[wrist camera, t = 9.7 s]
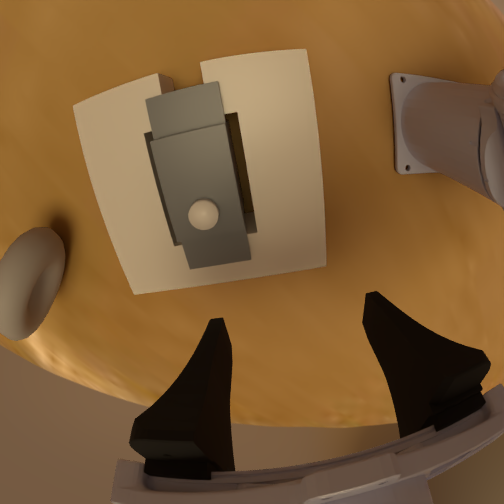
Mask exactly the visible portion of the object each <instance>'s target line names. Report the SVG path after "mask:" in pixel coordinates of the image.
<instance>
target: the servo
mask: <svg viewBox="0 0 504 504" xmlns="http://www.w3.org/2000/svg"><path fill="white" fill-rule="evenodd" d="M145 102H146V107H147V111H148V116H149V121H150V125H151V130H152V134H153V139H154V140H153V141H150V145H151V149H152V153H153V157H154V161H155V165H156V169H157V173H158V177H159V180H160V184H161V188H162V191H163V195H164V199H165V202H166V206H167V209H168V213H169V216H170V220H171V223H172V226H173V230H174V233H175V236H176V240H177V242H181V243H182V246H183V249H184V252H185V256H186V259H187V262H188V265H189V268H190V270H191V269H197V268H203V267H210V266H216V265H222V264H228V263H235V262H241V261H247V260H251V252H250V247H249V242H248V236H247V231H246V226H245V219H244V201H243V195H242V190H241V185H240V179H239V174H238V168H237V163H236V158H235V152H234V147H233V142H232V136H231V131H230V125H229V120H225V114H224V109H223V104H222V98H221V93H220V88H219V82H218V81H215V82H210V83H205V84H201V85H196V86H192V87H188V88H184V89H180V90H176V91H172V92H169V93H165V94H162V95H158V96H155V97H152V98H148V99H145Z"/></svg>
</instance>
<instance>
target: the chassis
mask: <svg viewBox="0 0 504 504" xmlns="http://www.w3.org/2000/svg"><path fill="white" fill-rule="evenodd" d="M200 65H201V71H202V76H203V82H204V84H205V83H210V82H215V81H218V82H219V88H220V93H221V98H222V104H223V109H224V114H228V113H234V112H237V113H238V119H239V125H240V130H241V136H242V142H243V148H244V154H245V160H246V165H247V171H248V177H249V183H250V189H251V195H252V201H253V207H254V212H249V213H244V219H245V226H246V231H247V236H248V242H249V247H250V252H251V260H247V261H241V262H235V263H228V264H222V265H216V266H210V267H203V268H197V269H191V270H190V268H189V265H188V262H187V259H186V256H185V252H184V249H183V246H182V243H181V242H177V240H176V236H175V233H174V230H173V226H172V223H171V220H170V216H169V213H168V209H167V206H166V202H165V199H164V195H163V191H162V188H161V184H160V180H159V177H158V173H157V169H156V165H155V161H154V157H153V153H152V149H151V145H150V141H153V140H154V139H153V134H152V130H151V125H150V121H149V116H148V111H147V107H146V102H145V99H148V98H152V97H155V96H158V95H162V94H165V93H169V92H172V91H174V86H173V80H172V78H169V77H167V76H164V75H162V74H159V73H156V74H153V75H150V76H147V77H143V78H140V79H137V80H134V81H132V82H129V83H126V84H123V85H120V86H118V87H115V88H113V89H110V90H108V91H105V92H103V93H100V94H98V95H95V96H93V97H91V98H89V99H86V100H84V101H82V102H80V103H78V104H76V105H73V109H74V114H75V119H76V124H77V129H78V133H79V137H80V142H81V146H82V150H83V154H84V157H85V161H86V165H87V168H88V172H89V175H90V179H91V182H92V186H93V189H94V192H95V195H96V198H97V201H98V204H99V207H100V210H101V213H102V216H103V219H104V222H105V225H106V227H107V230H108V233H109V235H110V238H111V241H112V243H113V246H114V248H115V251H116V253H117V256H118V258H119V261H120V263H121V266H122V268H123V270H124V273H125V275H126V277H127V280H128V282H129V284H130V286H131V289H132V291H133V293H134V295H135V294H143V293H151V292H158V291H166V290H174V289H181V288H188V287H196V286H203V285H210V284H217V283H224V282H231V281H237V280H244V279H250V278H257V277H263V276H270V275H276V274H282V273H289V272H295V271H301V270H307V269H313V268H319V267H324V266H326V230H325V209H324V193H323V179H322V166H321V155H320V145H319V135H318V126H317V118H316V110H315V102H314V95H313V88H312V81H311V75H310V69H309V63H308V57H307V51H306V49H293V50H278V51H267V52H258V53H250V54H243V55H236V56H230V57H224V58H218V59H213V60H208V61H203V62H200Z"/></svg>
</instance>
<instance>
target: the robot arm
mask: <svg viewBox="0 0 504 504" xmlns="http://www.w3.org/2000/svg"><path fill="white" fill-rule="evenodd" d="M401 77H402V78H403V82H401V80H400V78H401ZM390 84H391V93H392V103H393V116H394V132H395V168H396V171H397V172H398V173H399V174H416V173H435V172H439V173H441V174H444V175H446V176H448V177H450V178H452V179H454V180H456V181H457V182H459V183H461V184H463V185H465V186H467V187H469V188H471V189H472V190H474V191H476V192H478V193H480V194H481V195H483V196H485V197H487V198H488V199H490V200H492V201H493V202H495V203H497V204H498V205H500V206H501V207H502V208H503V210H504V69H503V70H502V71H500V72H499V73H498V74H497V75H496V77H495V79H494V81H493V82H492V84H491V86H490V85H480V84H468V83H458V82H453V81H448V80H443V79H438V78H432V77H426V76H419V75H412V74H403V73H392V74H391V75H390ZM406 165H408V169H407V170H405V167H406ZM362 323H363V326H364V329H365V332H366V335H367V338H368V340H369V342H370V345H371V347H372V349H373V351H374V353H375V355H376V357H377V359H378V361H379V363H380V366H381V368H382V370H383V372H384V375H385V377H386V380H387V383H388V386H389V389H390V393H391V396H392V400H393V404H394V408H395V412H396V417H397V422H398V427H399V433H400V439H398V440H395V441H392V442H389V443H386V444H384V445H380V446H377V447H374V448H371V449H367V450H364V451H360V452H357V453H353V454H349V455H345V456H341V457H337V458H333V459H328V460H323V461H318V462H313V463H308V464H302V465H296V466H289V467H281V468H273V469H263V470H250V471H235V465H234V457H233V447H232V436H231V420H230V392H231V378H232V345H231V342H230V339H229V335H228V332H227V329H226V326H225V322H224V319H223V318H215V319H211V320H210V321H209V323H208V325H207V328H206V330H205V332H204V334H203V336H202V338H201V340H200V342H199V344H198V346H197V348H196V350H195V352H194V354H193V355H192V357H191V358H190V360H189V362H188V363H187V365H186V367H185V368H184V370H183V371H182V372H181V374H180V375H179V376H178V378H177V379H176V380H175V382H174V383H173V384H172V385H171V386H170V388H169V389H168V390H167V391H166V392H165V393H164V394H163V395H162V396H161V397H160V398H159V399H158V400H157V401H156V402H155V403H154V404H153V405H152V406H151V407H150V408H148V409H147V410H146V411H145V412H143V413H142V414H141V415H140V416H138V417H137V418H135V421H134V424H133V427H132V431H131V436H130V441H129V444H130V446H131V447H132V448H133V449H134V450H135V451H136V452H138V453H139V454H140V455H142V456H143V457H144V458H146V460H145V464H144V463H141V462H136V461H130V460H123V459H118V460H117V465H116V470H115V476H114V482H113V488H112V494H111V502H112V503H114V504H433V501H432V497H431V494H430V490H429V487H428V484H427V480H429V479H431V478H433V477H435V476H436V475H439V474H440V473H442V472H444V471H446V470H448V469H450V468H451V467H453V466H455V465H457V464H458V463H460V462H462V461H463V460H465V459H467V458H468V457H470V456H472V455H473V454H475V453H476V452H478V451H479V450H481V449H482V448H484V447H485V446H487V445H488V444H490V443H491V442H492V441H494V440H496V439H497V438H498V437H499V436H500V435H501V434H503V433H504V387H503V386H502V384H499V385H497V386H496V387H494V388H492V389H491V390H489V391H488V392H486V393H485V394H484V395H482V393H481V392H480V391H482V386H481V384H480V383H481V382H482V380H483V379H484V377H485V376H486V374H487V373H488V371H489V369H490V366H491V363H490V361H489V359H488V358H487V356H486V355H485V353H484V352H483V351H482V350H479V349H475V348H471V347H468V346H465V345H462V344H459V343H456V342H454V341H451V340H449V339H447V338H445V337H442V336H440V335H438V334H436V333H434V332H433V331H431V330H429V329H427V328H426V327H424V326H422V325H421V324H419V323H418V322H416V321H415V320H413V319H412V318H411V317H409V316H408V315H406V314H405V313H404V312H402V311H401V310H400V309H399V308H397V307H396V306H395V305H394V304H392V303H391V302H390V301H389V300H387V299H386V298H385V297H384V296H382V295H381V294H380V293H379V292H377V291H374V292H370V293H366V297H365V306H364V314H363V321H362ZM273 484H274V485H273Z"/></svg>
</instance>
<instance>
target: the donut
mask: <svg viewBox="0 0 504 504" xmlns="http://www.w3.org/2000/svg"><path fill="white" fill-rule="evenodd" d="M65 256H66V255H65V249H64V244H63V241H62V239H61V238H60V237H59V236H58V235H57V233H55V232H54V231H53V230H52V229H50V228H47V227H40V228H32V229H30V230H29V231H27V232H25V233H23V234H22V235H20V236H19V237H18V238H17V239H16V240H15V241H14V242H13V243H12V244H11V245H10V247H9V248H8V250H7V251H6V253H5V254H4V256H3V258H2V259H1V261H0V333H1V334H2V335H4V336H5V337H7V338H9V339H11V340H16V341H18V340H22V339H25V338H28V337H29V336H30V335H31V334H32V333H34V332H35V331H36V330H37V328H38V327H39V326H40V324H41V323H42V322H43V320H44V318H45V317H46V315H47V314H48V312H49V310H50V308H51V306H52V304H53V302H54V299H55V297H56V294H57V292H58V289H59V286H60V283H61V280H62V276H63V272H64V267H65Z"/></svg>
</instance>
